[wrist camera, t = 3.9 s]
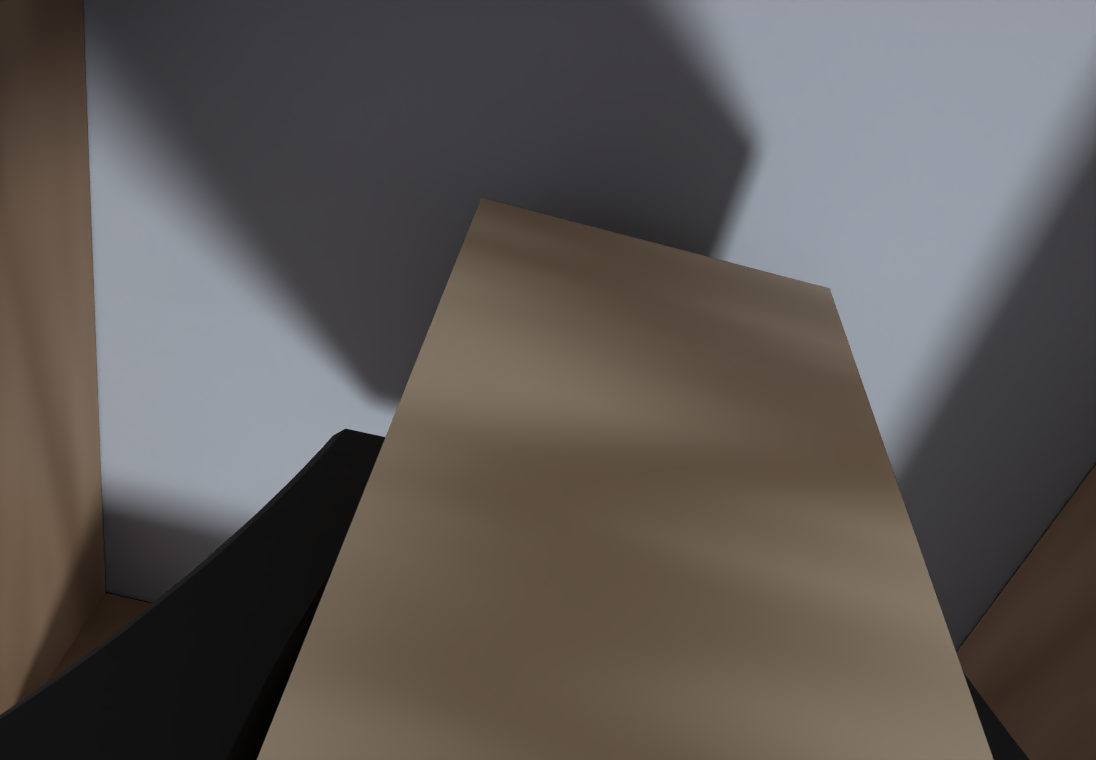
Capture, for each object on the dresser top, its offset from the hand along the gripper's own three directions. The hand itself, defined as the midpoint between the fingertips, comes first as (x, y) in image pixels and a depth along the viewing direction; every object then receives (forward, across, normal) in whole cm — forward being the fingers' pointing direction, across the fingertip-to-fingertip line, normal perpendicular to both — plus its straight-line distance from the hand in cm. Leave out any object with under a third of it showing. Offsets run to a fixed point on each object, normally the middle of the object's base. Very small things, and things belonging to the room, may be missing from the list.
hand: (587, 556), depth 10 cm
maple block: (+2, 0, 0) cm, 2 cm away
